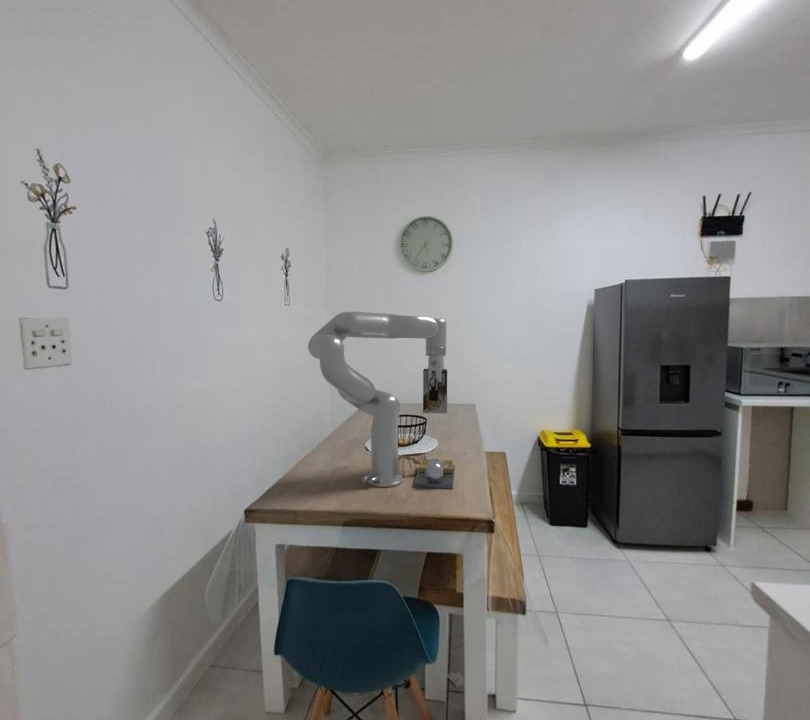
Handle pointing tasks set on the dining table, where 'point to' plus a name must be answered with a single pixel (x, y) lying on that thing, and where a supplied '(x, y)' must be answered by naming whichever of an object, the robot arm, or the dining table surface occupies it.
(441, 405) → the coffee box
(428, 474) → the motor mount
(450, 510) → the dining table surface
